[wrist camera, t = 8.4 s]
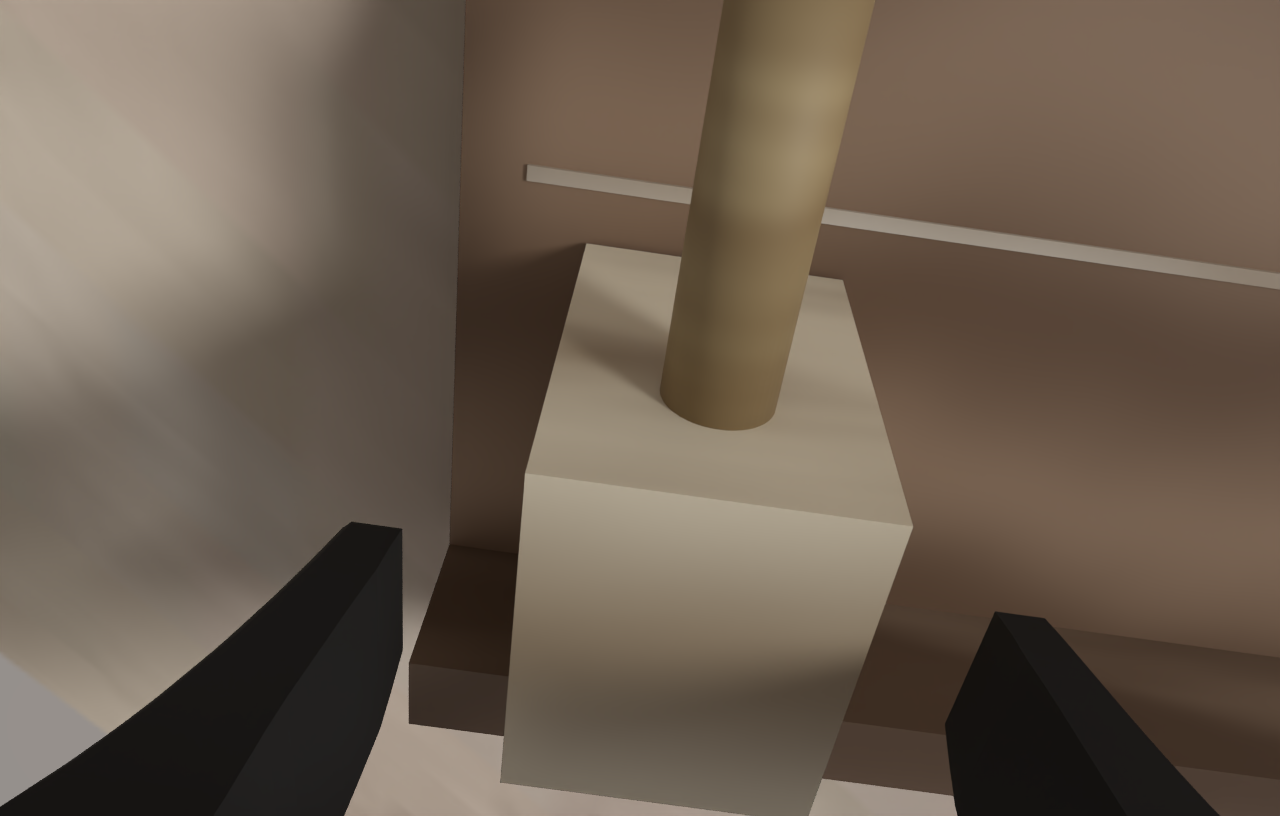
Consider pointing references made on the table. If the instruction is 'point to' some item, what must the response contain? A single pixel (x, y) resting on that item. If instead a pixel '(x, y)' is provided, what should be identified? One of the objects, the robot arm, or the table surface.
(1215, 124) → the board
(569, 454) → the beige block with rod
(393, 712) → the table surface
